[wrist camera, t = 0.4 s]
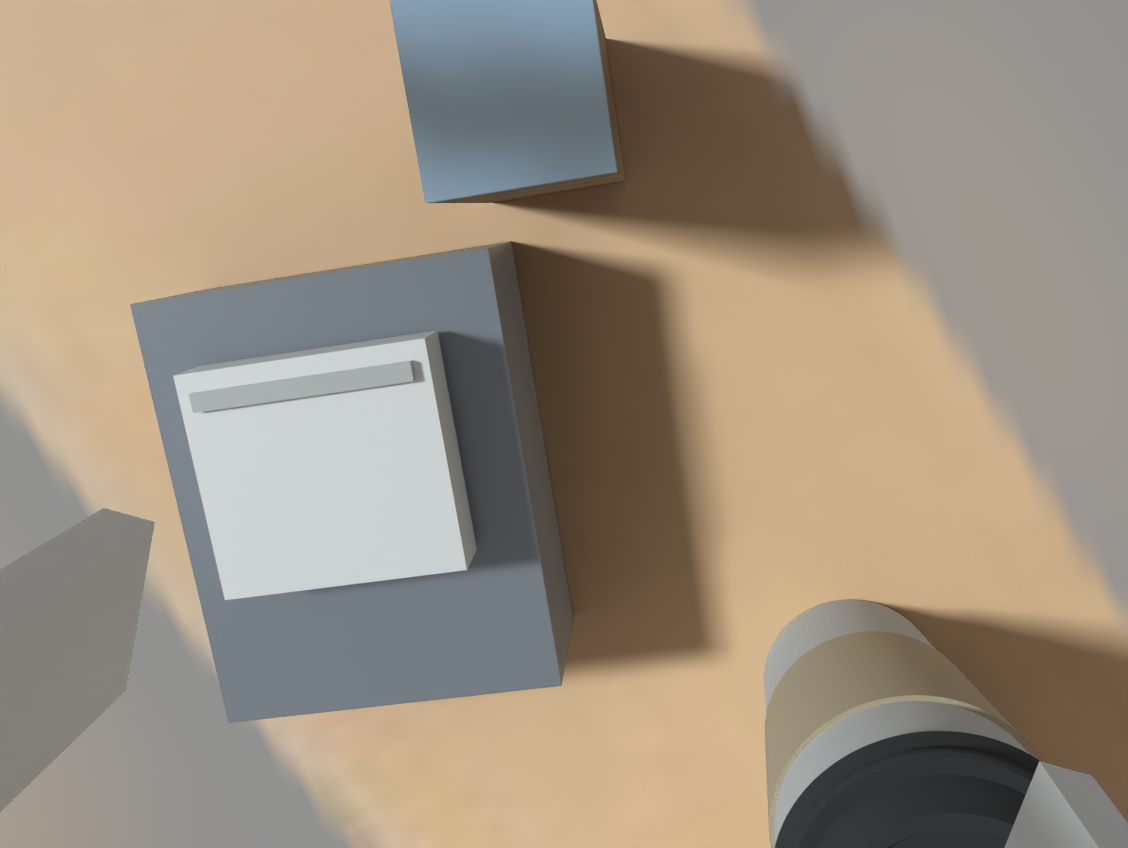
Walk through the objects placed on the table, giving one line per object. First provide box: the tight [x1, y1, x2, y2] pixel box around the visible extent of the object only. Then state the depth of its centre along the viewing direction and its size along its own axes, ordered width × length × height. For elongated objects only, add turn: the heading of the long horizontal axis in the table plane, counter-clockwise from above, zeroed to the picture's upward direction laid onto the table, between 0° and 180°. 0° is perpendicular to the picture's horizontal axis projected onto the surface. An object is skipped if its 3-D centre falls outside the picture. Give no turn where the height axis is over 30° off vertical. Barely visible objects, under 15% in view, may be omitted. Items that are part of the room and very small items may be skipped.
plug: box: [390, 0, 626, 203], centre depth 32 cm, size 5×5×12 cm
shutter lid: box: [173, 331, 477, 600], centre depth 34 cm, size 7×8×2 cm
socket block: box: [130, 241, 573, 723], centre depth 38 cm, size 15×12×6 cm
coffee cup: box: [764, 600, 1042, 848], centre depth 34 cm, size 9×9×15 cm
